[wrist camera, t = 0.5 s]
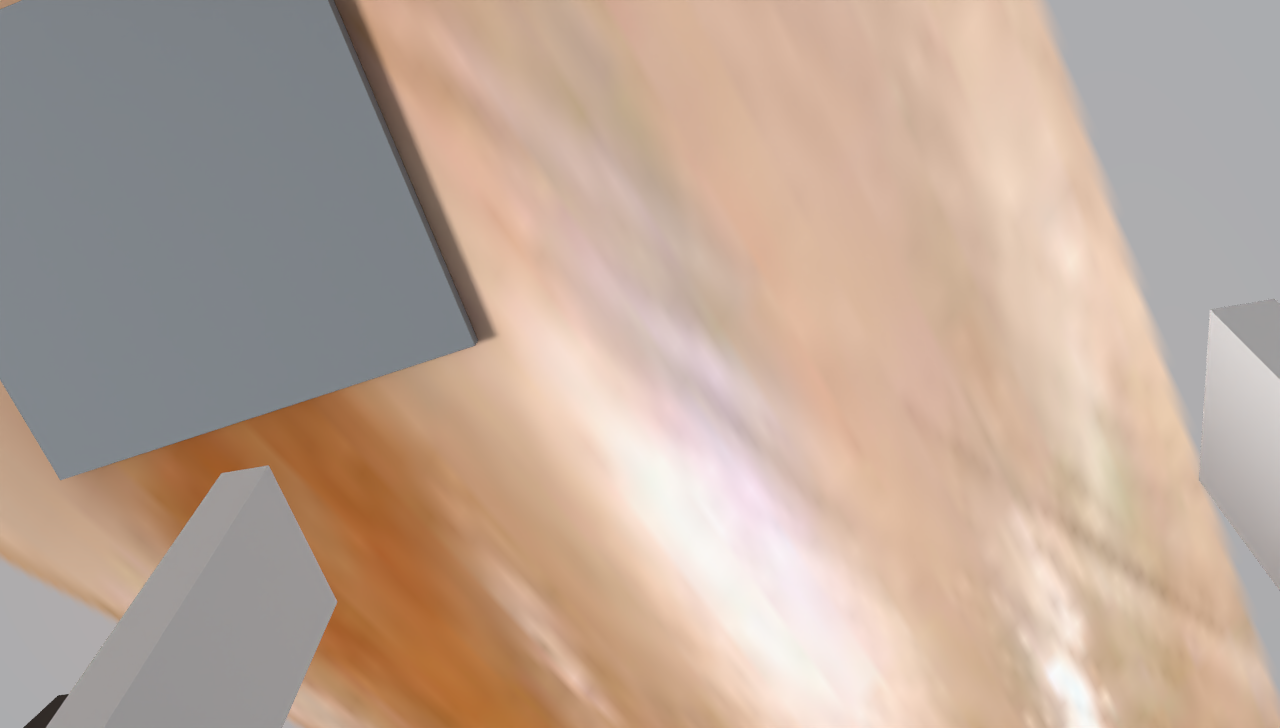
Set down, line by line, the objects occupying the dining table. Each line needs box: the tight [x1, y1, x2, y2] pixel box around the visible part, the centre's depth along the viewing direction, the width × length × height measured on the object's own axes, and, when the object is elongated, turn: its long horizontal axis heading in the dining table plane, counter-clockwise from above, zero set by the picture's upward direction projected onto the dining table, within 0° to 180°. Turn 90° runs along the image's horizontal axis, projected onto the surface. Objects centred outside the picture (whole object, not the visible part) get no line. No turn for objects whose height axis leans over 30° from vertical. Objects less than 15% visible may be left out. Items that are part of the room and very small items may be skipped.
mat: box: [0, 0, 478, 480], centre depth 38 cm, size 17×19×1 cm
